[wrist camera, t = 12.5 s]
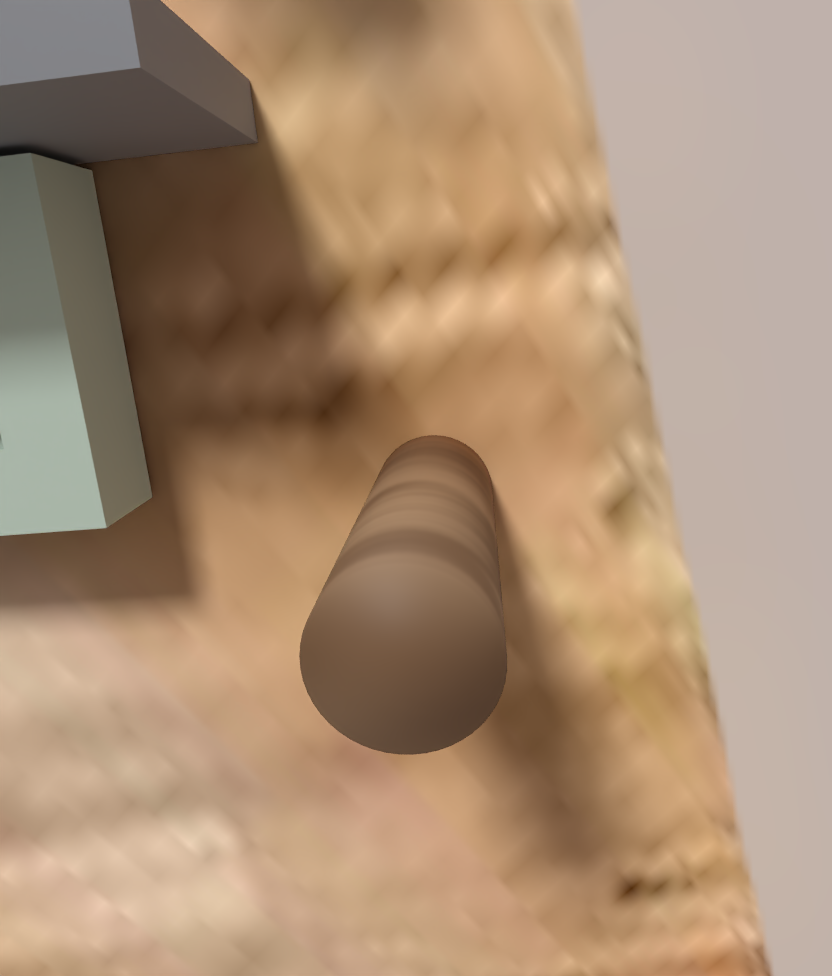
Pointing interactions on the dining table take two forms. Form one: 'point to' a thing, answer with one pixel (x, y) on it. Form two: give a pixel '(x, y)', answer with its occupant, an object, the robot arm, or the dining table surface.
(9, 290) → the block
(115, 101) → the wall
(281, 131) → the dining table surface
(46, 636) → the dining table surface
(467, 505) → the dowel
